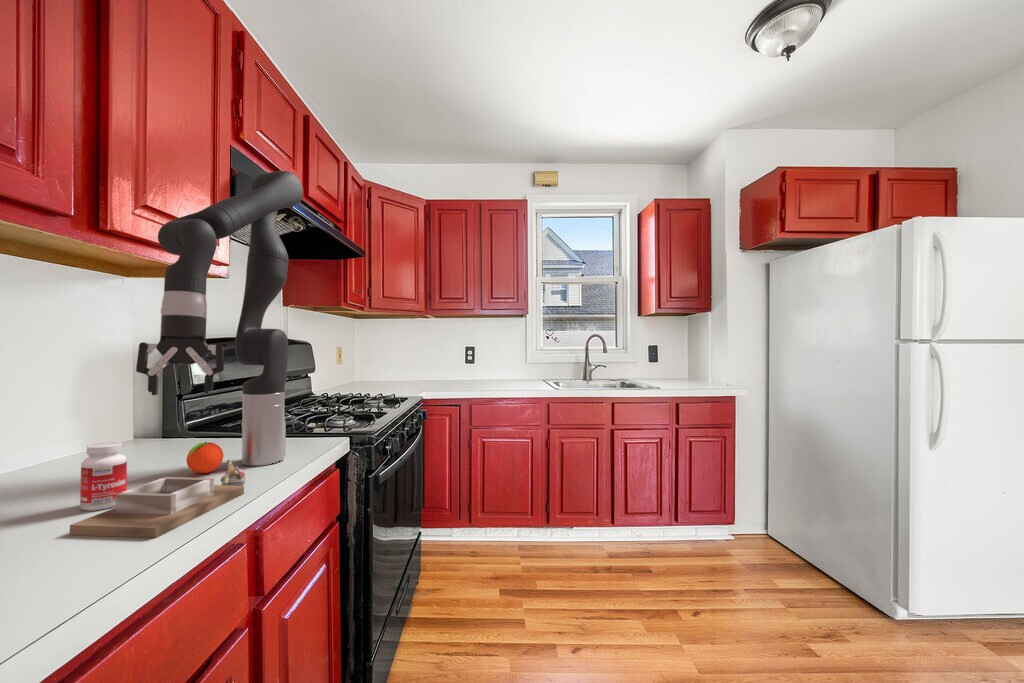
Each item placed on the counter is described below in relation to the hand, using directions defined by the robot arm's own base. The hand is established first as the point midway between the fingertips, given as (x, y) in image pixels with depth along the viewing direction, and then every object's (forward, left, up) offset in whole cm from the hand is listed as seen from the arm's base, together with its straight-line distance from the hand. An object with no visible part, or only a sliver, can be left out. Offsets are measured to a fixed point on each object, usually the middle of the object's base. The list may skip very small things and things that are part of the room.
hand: (181, 394), depth 90 cm
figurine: (-2, +10, -19) cm, 22 cm away
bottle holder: (+12, +8, -19) cm, 24 cm away
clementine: (-10, -3, -19) cm, 22 cm away
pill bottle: (+10, -6, -19) cm, 23 cm away
